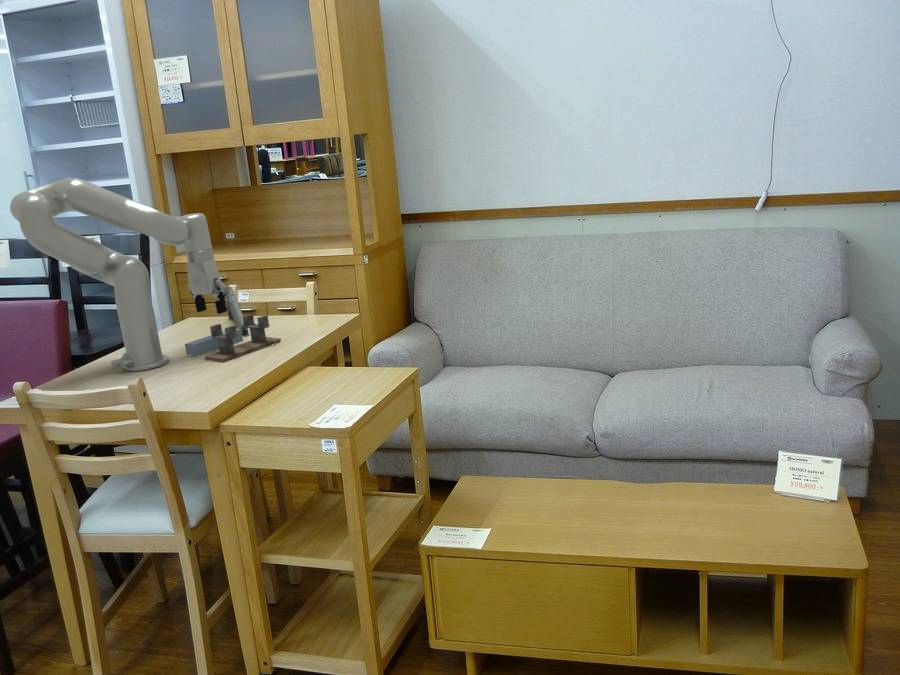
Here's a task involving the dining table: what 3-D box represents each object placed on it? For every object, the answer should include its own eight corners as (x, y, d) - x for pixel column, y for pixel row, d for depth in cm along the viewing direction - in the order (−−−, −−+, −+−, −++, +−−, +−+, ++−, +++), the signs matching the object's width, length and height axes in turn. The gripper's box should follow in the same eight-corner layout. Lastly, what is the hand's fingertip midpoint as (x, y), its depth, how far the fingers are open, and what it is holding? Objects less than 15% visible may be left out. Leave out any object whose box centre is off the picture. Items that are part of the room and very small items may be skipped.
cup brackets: (222, 362, 229) (217, 331, 226) (205, 359, 233) (199, 329, 231) (281, 341, 245) (276, 312, 243) (263, 339, 250) (259, 311, 248)
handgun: (253, 361, 264) (249, 322, 256) (243, 362, 263) (239, 324, 254) (234, 313, 287) (230, 276, 279) (225, 314, 286) (221, 277, 278)
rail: (195, 357, 238) (193, 344, 237) (187, 356, 240) (184, 343, 239) (243, 341, 252) (241, 329, 250) (234, 340, 254) (232, 328, 253)
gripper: (171, 258, 241) (184, 313, 246) (208, 259, 231) (220, 317, 235) (192, 253, 246) (204, 307, 251) (229, 253, 236) (240, 310, 241)
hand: (212, 311), depth 243 cm, fingers open, 9 cm apart
